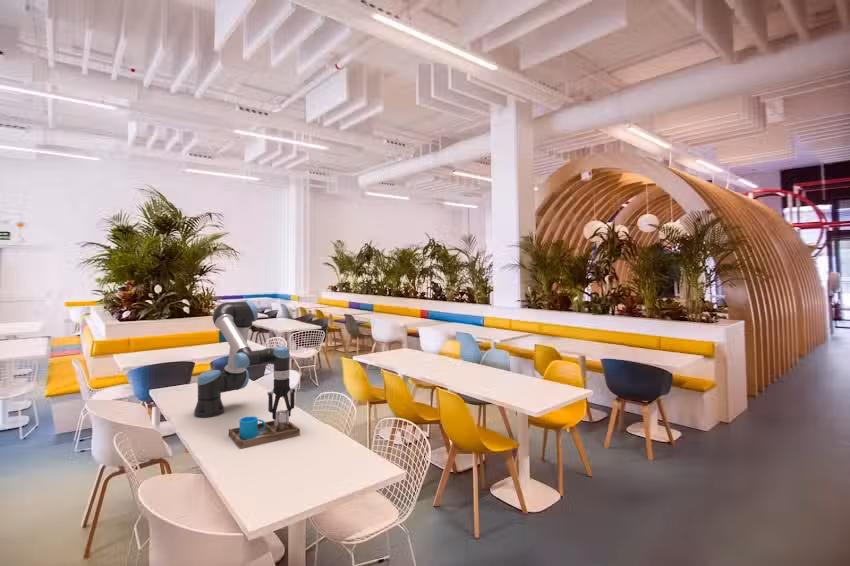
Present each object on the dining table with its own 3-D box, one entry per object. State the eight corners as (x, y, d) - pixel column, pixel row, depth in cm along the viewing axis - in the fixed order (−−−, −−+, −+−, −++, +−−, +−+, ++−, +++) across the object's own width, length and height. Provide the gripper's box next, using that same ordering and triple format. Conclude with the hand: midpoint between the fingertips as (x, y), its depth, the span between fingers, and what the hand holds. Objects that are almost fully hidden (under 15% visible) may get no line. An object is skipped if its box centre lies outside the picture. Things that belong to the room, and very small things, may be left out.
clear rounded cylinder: (274, 429, 221) (274, 411, 221) (284, 427, 224) (284, 409, 224) (278, 432, 217) (278, 414, 217) (288, 430, 220) (288, 412, 220)
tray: (228, 435, 215) (228, 429, 215) (285, 423, 232) (285, 418, 232) (240, 448, 199) (240, 442, 199) (299, 435, 216) (299, 429, 216)
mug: (240, 440, 205) (240, 423, 205) (238, 435, 212) (238, 418, 212) (267, 436, 211) (267, 419, 211) (264, 430, 218) (264, 414, 218)
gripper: (265, 382, 211) (265, 430, 212) (301, 377, 222) (301, 422, 223) (260, 379, 217) (260, 425, 218) (296, 374, 228) (296, 418, 229)
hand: (281, 424), depth 220 cm, fingers closed on clear rounded cylinder, 5 cm apart
